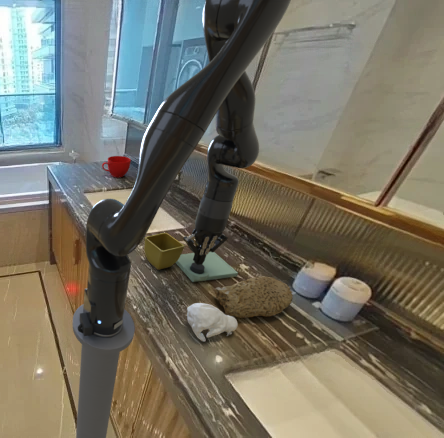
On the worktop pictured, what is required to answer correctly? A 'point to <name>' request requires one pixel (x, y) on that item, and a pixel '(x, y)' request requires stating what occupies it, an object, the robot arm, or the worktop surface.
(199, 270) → the button
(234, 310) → the sponge
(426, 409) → the worktop surface
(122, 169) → the ceramic cup
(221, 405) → the worktop surface
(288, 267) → the worktop surface
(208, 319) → the white animal figurine
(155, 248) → the flower pot
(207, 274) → the scale
